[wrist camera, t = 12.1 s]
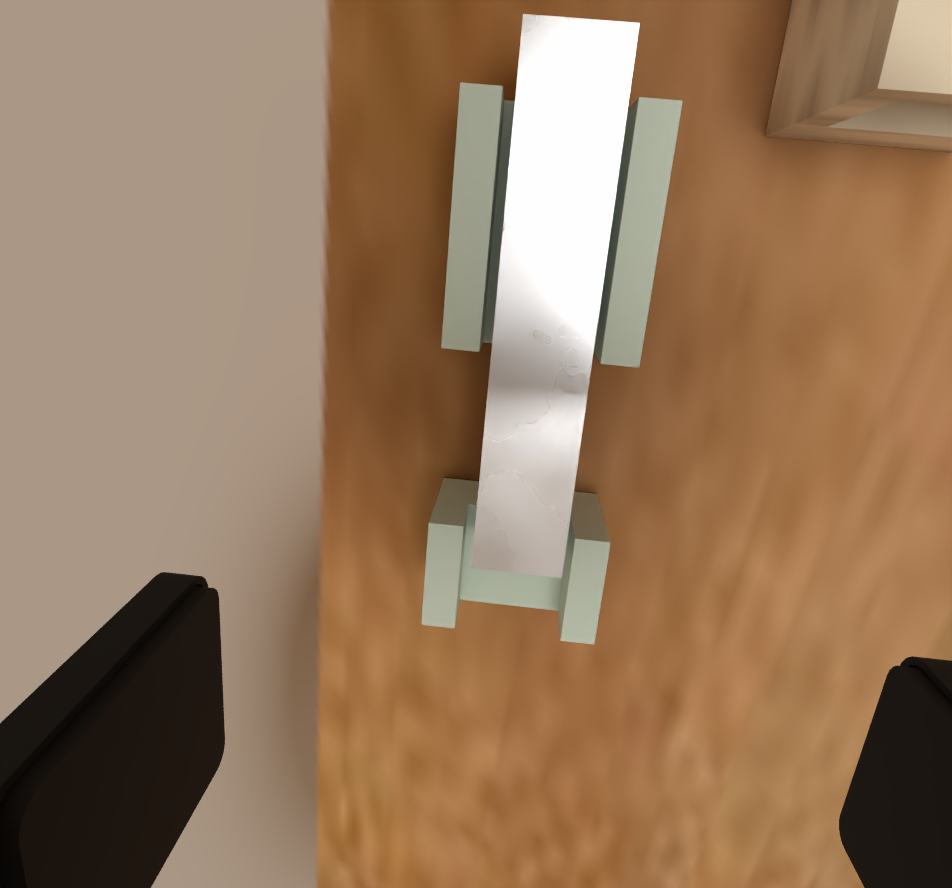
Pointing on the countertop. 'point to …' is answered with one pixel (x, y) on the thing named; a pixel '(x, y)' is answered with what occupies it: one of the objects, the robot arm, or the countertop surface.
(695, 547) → the countertop surface
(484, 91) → the cradle
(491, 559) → the axle
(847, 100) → the block
